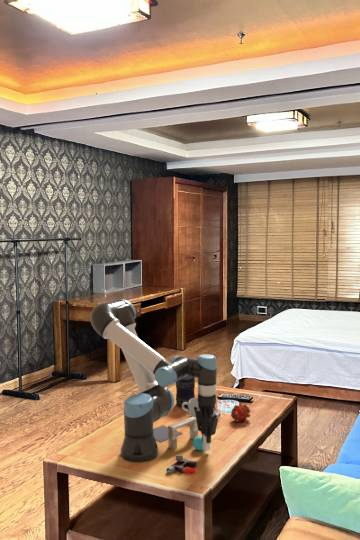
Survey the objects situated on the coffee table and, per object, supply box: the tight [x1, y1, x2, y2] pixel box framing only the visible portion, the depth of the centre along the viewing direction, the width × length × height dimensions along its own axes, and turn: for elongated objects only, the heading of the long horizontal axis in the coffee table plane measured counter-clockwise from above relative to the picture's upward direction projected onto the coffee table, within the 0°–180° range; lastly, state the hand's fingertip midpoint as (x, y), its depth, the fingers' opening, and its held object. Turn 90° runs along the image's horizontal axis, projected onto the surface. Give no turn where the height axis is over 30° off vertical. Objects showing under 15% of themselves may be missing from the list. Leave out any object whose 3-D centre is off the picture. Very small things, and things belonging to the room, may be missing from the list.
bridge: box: [167, 416, 199, 450], centre depth 228 cm, size 3×14×9 cm, turn 133°
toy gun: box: [165, 454, 197, 475], centre depth 203 cm, size 10×12×5 cm
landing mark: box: [153, 425, 183, 443], centre depth 239 cm, size 13×13×1 cm
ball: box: [192, 435, 203, 451], centre depth 221 cm, size 6×6×6 cm
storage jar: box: [175, 376, 196, 409], centre depth 274 cm, size 10×10×15 cm
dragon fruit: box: [230, 403, 251, 423], centre depth 252 cm, size 8×8×12 cm
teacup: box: [181, 396, 199, 418], centre depth 257 cm, size 14×11×8 cm
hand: (206, 449), depth 218 cm, fingers closed
